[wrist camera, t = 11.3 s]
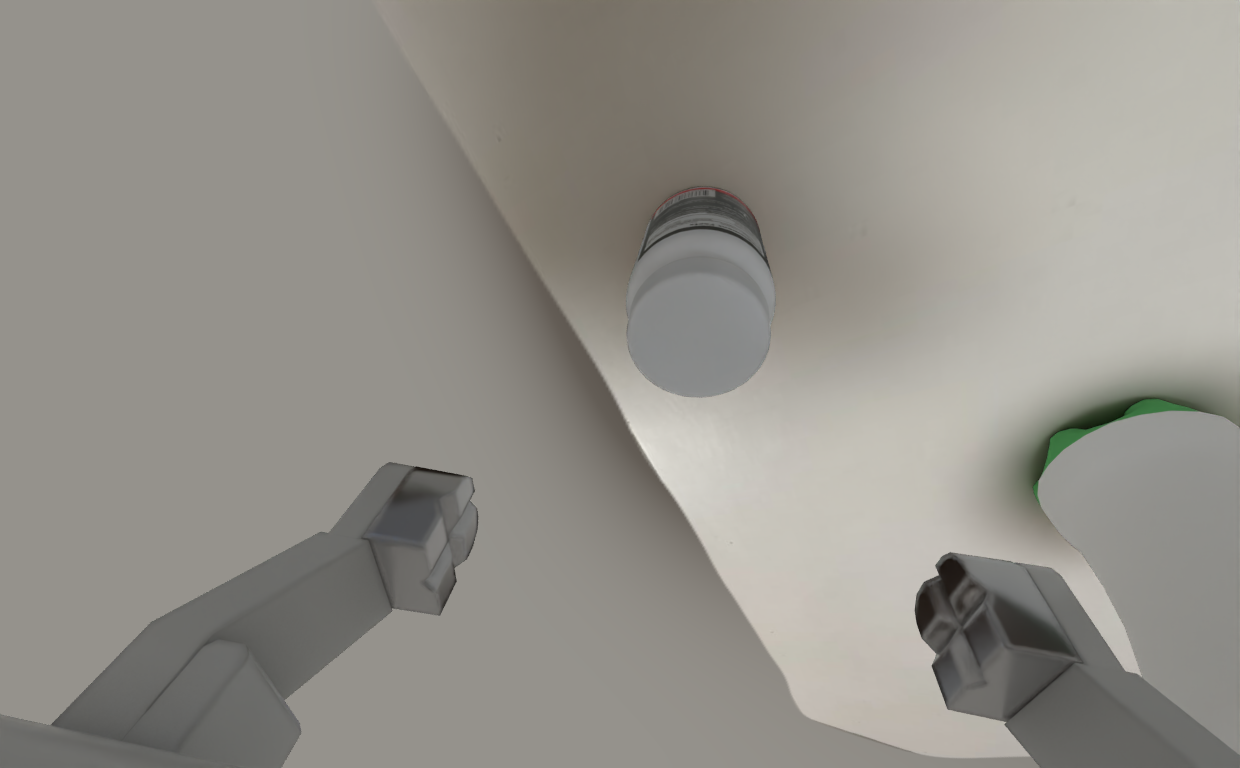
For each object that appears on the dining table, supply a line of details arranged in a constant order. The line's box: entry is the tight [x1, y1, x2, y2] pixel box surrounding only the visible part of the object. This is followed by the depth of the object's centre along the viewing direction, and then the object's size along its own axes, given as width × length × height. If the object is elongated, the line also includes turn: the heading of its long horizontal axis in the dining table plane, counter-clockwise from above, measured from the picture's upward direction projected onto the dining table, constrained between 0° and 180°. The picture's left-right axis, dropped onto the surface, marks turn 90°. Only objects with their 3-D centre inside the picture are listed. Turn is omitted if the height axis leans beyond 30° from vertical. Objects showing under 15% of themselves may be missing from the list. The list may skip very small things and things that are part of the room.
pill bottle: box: [626, 187, 776, 397], centre depth 17 cm, size 5×5×8 cm
